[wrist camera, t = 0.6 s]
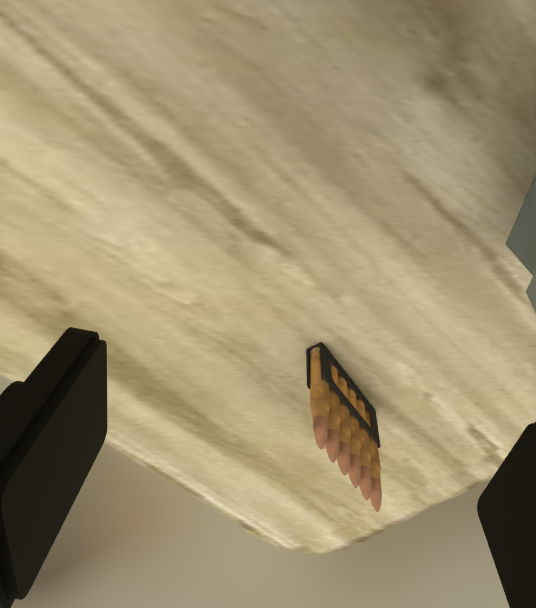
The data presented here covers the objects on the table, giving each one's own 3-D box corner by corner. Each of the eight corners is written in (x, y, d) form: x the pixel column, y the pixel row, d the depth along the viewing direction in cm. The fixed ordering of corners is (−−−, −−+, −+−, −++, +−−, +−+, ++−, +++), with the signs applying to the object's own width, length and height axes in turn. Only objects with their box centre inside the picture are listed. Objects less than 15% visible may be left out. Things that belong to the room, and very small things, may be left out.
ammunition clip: (305, 349, 45) (304, 445, 35) (321, 341, 44) (325, 436, 34) (360, 417, 49) (373, 520, 39) (375, 410, 49) (392, 514, 38)
